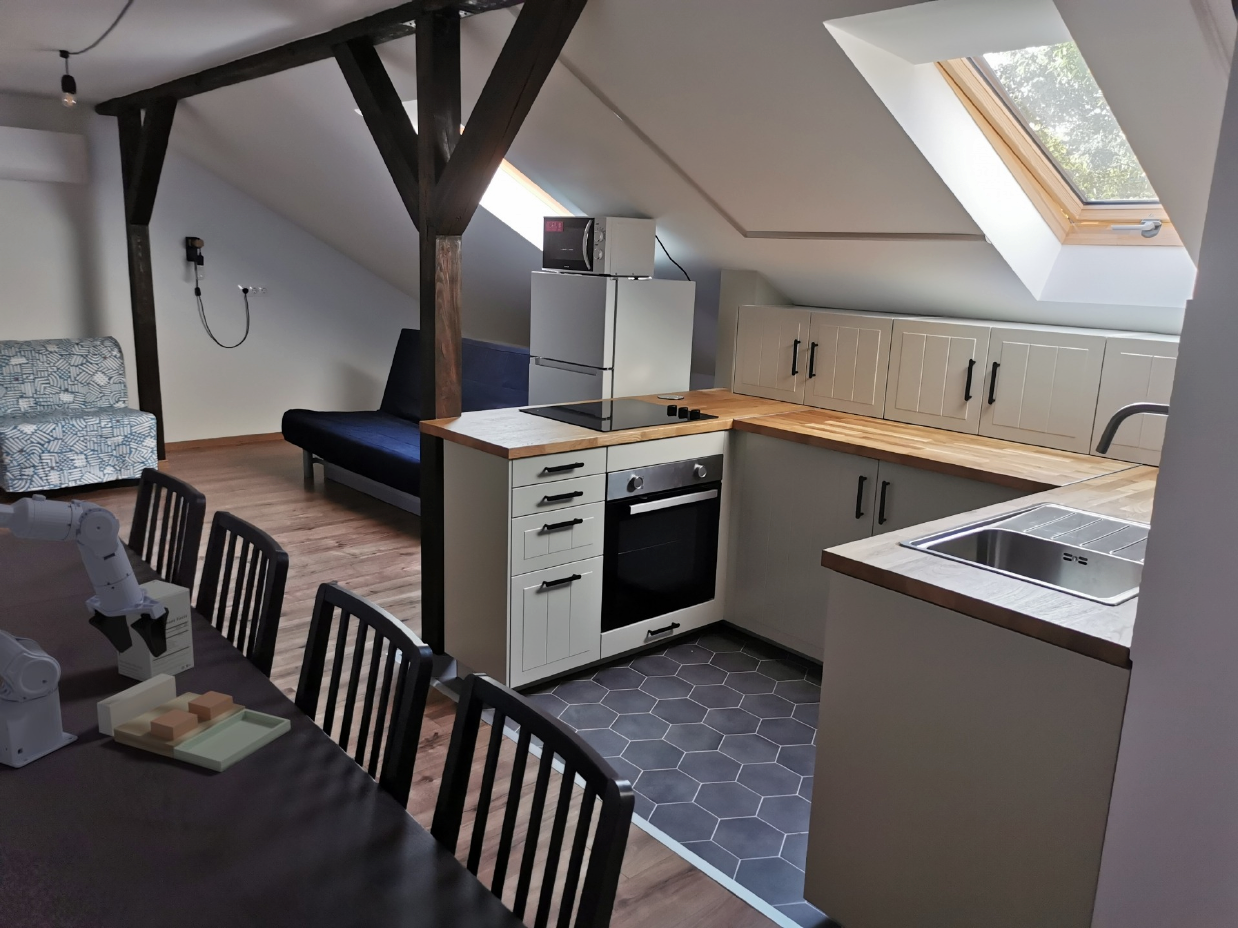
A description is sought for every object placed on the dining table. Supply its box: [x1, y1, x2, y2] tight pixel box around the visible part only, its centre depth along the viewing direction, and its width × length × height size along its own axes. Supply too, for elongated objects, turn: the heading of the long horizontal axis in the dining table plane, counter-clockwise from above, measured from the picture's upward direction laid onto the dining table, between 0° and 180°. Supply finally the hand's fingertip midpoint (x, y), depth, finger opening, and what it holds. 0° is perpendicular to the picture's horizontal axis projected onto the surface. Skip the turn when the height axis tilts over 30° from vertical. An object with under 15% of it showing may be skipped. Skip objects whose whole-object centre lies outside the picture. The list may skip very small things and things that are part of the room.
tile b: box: [188, 690, 234, 720], centre depth 147 cm, size 4×4×2 cm
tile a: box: [150, 709, 198, 740], centre depth 141 cm, size 4×4×2 cm
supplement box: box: [116, 579, 195, 682], centre depth 165 cm, size 9×9×15 cm
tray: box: [173, 708, 292, 773], centre depth 141 cm, size 14×9×2 cm, turn 157°
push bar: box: [96, 673, 177, 737], centre depth 148 cm, size 12×3×5 cm, turn 157°
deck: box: [113, 691, 246, 759], centre depth 145 cm, size 14×12×2 cm
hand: (143, 651), depth 149 cm, fingers open, 7 cm apart
